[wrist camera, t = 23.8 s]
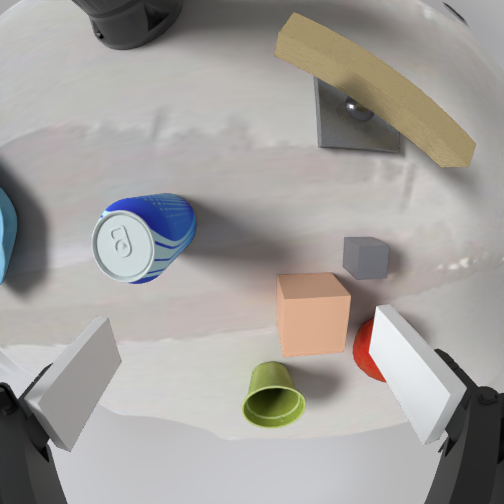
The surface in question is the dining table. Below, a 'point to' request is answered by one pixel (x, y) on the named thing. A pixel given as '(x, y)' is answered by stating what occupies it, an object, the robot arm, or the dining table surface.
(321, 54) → the yellow t-shaped bar
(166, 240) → the beer can
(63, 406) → the robot arm
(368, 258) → the slate grey block
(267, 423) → the plant pot
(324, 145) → the grey square base plate
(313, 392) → the dining table surface
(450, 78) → the dining table surface
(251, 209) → the dining table surface
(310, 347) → the peach tan cube
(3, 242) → the casserole dish
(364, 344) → the apple
